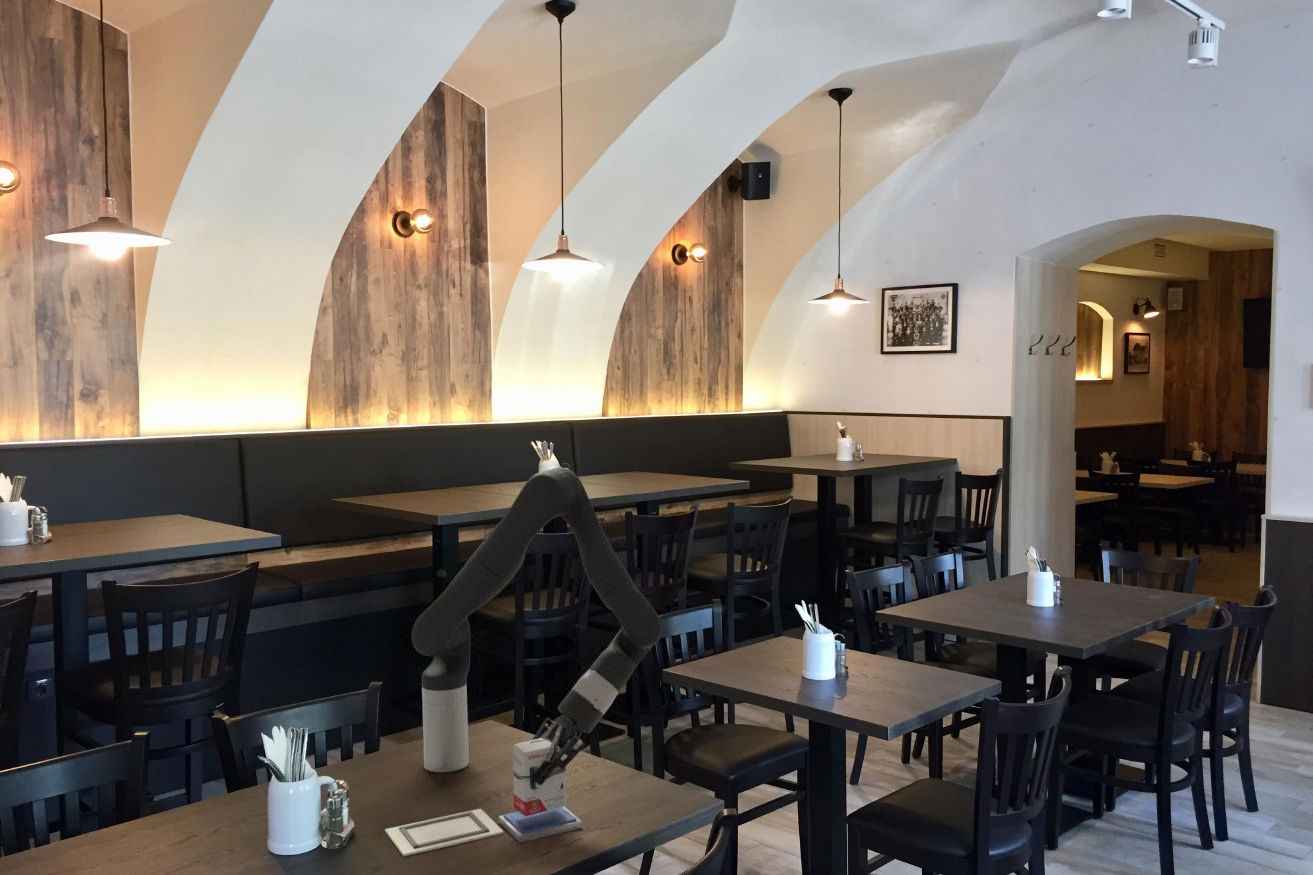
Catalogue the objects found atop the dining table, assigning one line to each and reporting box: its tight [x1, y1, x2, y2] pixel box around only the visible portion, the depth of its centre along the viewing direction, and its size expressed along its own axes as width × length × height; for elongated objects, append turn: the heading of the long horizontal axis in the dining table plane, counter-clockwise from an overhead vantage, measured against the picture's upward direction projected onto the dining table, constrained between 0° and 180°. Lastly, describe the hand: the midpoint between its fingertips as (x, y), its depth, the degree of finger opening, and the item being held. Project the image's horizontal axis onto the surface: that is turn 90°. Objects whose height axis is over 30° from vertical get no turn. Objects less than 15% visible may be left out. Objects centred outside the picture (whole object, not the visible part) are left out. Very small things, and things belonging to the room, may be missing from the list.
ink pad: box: [498, 806, 583, 843], centre depth 193 cm, size 10×12×2 cm
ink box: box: [512, 738, 567, 816], centre depth 193 cm, size 8×5×12 cm, turn 123°
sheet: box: [384, 808, 505, 857], centre depth 190 cm, size 12×18×1 cm, turn 119°
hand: (530, 776), depth 192 cm, fingers closed on ink box, 5 cm apart
